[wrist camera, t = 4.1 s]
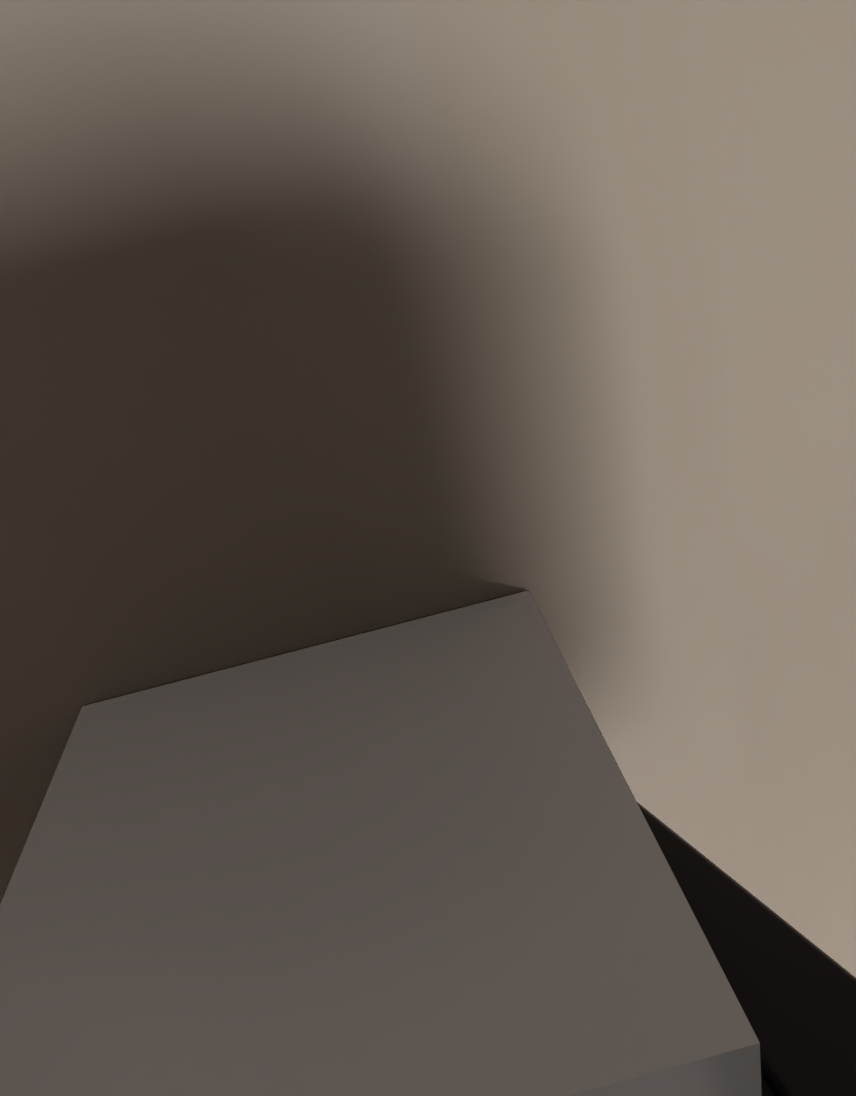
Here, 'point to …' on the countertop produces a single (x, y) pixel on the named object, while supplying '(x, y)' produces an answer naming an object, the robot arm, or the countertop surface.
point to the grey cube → (359, 889)
